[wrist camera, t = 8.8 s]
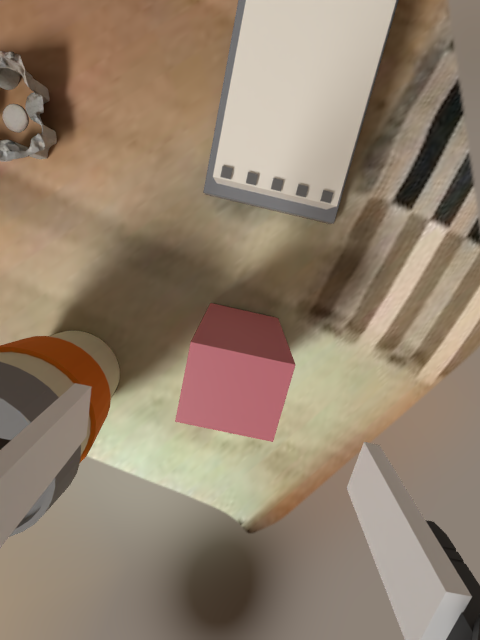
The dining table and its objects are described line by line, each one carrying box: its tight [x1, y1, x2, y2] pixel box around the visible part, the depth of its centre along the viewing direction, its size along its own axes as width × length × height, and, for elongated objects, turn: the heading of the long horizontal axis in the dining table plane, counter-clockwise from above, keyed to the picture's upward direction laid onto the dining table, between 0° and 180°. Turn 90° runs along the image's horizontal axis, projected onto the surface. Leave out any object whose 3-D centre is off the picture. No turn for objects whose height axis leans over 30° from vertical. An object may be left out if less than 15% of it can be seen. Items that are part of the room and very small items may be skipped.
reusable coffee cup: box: [0, 331, 120, 537], centre depth 28 cm, size 13×13×15 cm
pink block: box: [175, 303, 295, 442], centre depth 28 cm, size 6×7×12 cm
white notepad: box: [203, 0, 398, 224], centre depth 26 cm, size 17×12×5 cm
